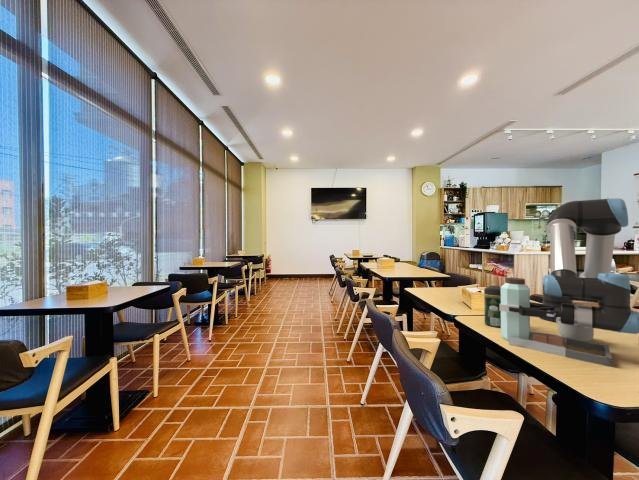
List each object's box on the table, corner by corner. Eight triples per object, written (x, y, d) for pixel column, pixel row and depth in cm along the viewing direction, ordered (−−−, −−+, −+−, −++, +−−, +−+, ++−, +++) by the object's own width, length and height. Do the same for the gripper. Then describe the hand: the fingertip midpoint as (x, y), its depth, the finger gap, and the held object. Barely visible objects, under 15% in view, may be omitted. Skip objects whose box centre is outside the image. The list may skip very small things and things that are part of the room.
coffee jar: (486, 320, 139) (485, 284, 139) (504, 323, 134) (504, 285, 134) (482, 325, 131) (482, 286, 131) (502, 328, 126) (502, 288, 126)
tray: (608, 352, 100) (608, 345, 100) (612, 366, 88) (612, 359, 88) (566, 344, 107) (566, 337, 107) (565, 356, 96) (565, 349, 96)
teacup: (601, 346, 106) (601, 325, 106) (568, 344, 108) (568, 323, 108) (575, 334, 119) (575, 315, 119) (547, 332, 121) (546, 314, 121)
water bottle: (495, 337, 115) (494, 277, 115) (510, 334, 119) (510, 276, 119) (520, 346, 106) (520, 281, 106) (536, 342, 110) (536, 279, 110)
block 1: (546, 345, 107) (546, 335, 107) (546, 348, 104) (546, 337, 104) (533, 342, 109) (533, 332, 109) (533, 345, 106) (533, 335, 106)
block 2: (563, 348, 104) (563, 337, 104) (562, 351, 101) (562, 340, 101) (549, 345, 107) (549, 334, 107) (548, 348, 104) (547, 337, 104)
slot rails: (566, 344, 107) (566, 336, 107) (565, 356, 96) (565, 347, 96) (515, 334, 118) (515, 327, 118) (508, 344, 108) (508, 336, 108)
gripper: (575, 332, 92) (496, 319, 107) (575, 318, 108) (507, 309, 123) (574, 310, 92) (496, 300, 107) (575, 299, 108) (506, 292, 123)
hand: (502, 305), depth 115 cm, fingers closed on water bottle, 9 cm apart
